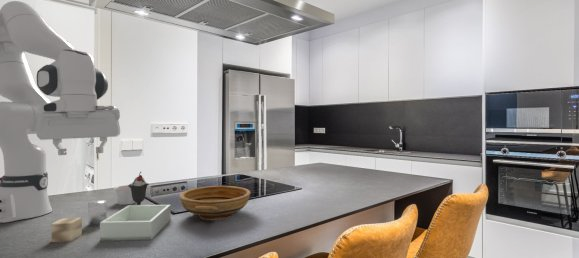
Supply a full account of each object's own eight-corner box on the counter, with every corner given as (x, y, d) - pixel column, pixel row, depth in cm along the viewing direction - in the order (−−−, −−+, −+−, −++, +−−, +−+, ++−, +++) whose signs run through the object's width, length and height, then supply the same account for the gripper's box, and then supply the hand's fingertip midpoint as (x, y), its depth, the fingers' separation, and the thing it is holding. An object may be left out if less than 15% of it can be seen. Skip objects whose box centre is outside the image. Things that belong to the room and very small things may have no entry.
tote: (151, 239, 85) (151, 221, 85) (99, 240, 84) (99, 222, 84) (170, 219, 103) (170, 204, 103) (128, 220, 102) (128, 205, 102)
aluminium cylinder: (84, 226, 96) (84, 204, 95) (93, 221, 101) (93, 200, 100) (101, 226, 96) (101, 204, 96) (109, 221, 101) (109, 199, 101)
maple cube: (51, 242, 83) (51, 223, 83) (63, 235, 88) (63, 218, 88) (71, 241, 84) (70, 223, 84) (81, 234, 89) (81, 217, 89)
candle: (115, 201, 126) (115, 186, 126) (140, 199, 130) (140, 184, 130) (113, 206, 118) (113, 190, 118) (139, 204, 122) (139, 188, 122)
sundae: (141, 215, 107) (140, 172, 107) (124, 214, 108) (124, 171, 108) (153, 210, 113) (153, 169, 113) (137, 209, 115) (136, 169, 115)
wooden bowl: (195, 203, 123) (195, 183, 123) (255, 204, 123) (255, 184, 123) (163, 229, 94) (163, 203, 93) (243, 230, 93) (243, 204, 93)
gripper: (121, 106, 95) (123, 151, 95) (43, 107, 89) (45, 155, 89) (116, 104, 89) (118, 152, 89) (32, 106, 83) (34, 157, 83)
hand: (81, 154), depth 89 cm, fingers open, 8 cm apart
